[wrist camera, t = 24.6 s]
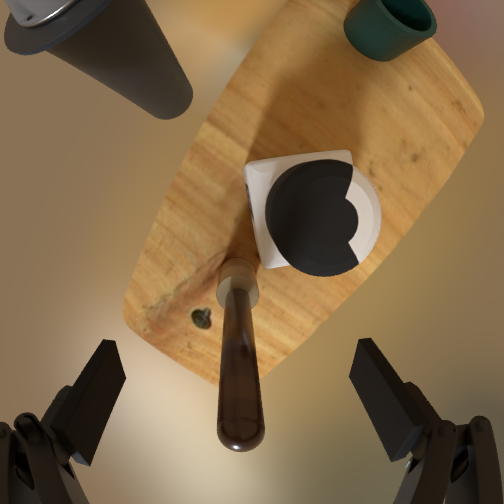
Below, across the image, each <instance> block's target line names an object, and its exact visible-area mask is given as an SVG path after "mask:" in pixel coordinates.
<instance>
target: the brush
mask: <svg viewBox="0 0 504 504" xmlns="http://www.w3.org/2000/svg"><path fill="white" fill-rule="evenodd" d="M216 297H217V301H218V303H219V304H220V306H221V307H222V308H223V309H224V323H223V337H222V351H221V366H220V382H219V398H218V399H219V400H218V417H217V434H218V437H219V440H220V441H221V443H222V444H223V445H224V446H225V447H227V448H228V449H230V450H233V451H236V452H246V451H250V450H252V449H254V448H256V447H257V446H258V445H259V444H260V443H261V442H262V440H263V438H264V435H265V425H264V417H263V408H262V401H261V391H260V383H259V374H258V365H257V357H256V348H255V339H254V330H253V321H252V312H251V309H252V308H253V307H254V306H255V305H256V303H257V301H258V298H259V290H258V285H257V279H256V274H255V270H254V267H253V266H252V264H251V263H250V262H249V261H247V260H245V259H243V258H232V259H229V260H228V261H226V262H225V263H224V264H223V265H222V267H221V269H220V273H219V279H218V285H217V292H216Z"/></svg>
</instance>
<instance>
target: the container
mask: <svg viewBox="0 0 504 504" xmlns="http://www.w3.org/2000/svg"><path fill="white" fill-rule="evenodd" d="M243 174H244V179H245V185H246V190H247V196H248V201H249V207H250V213H251V218H252V224H253V229H254V235H255V241H256V245H257V248H258V252H259V255H260V259H261V263H262V265H263V267H264V268H266V269H271V268H276V267H282V266H287V265H292V266H293V267H294V268H296V269H298V270H299V271H301V272H303V273H306V274H309V275H313V276H321V277H327V276H335V275H339V274H342V273H345V272H347V271H349V270H351V269H353V268H354V267H355V266H357V265H358V264H360V263H361V262H362V261H363V260H364V259H365V258H366V257H367V255H368V254H369V253H370V251H371V250H372V248H373V247H374V245H375V243H376V241H377V238H378V235H379V233H380V228H381V220H382V211H381V204H380V200H379V196H378V194H377V191H376V189H375V187H374V186H373V184H372V182H371V181H370V180H369V178H368V177H367V176H366V175H365V174H364V173H363V172H362V171H360V170H359V169H358V168H356V167H355V166H353V161H352V155H351V152H350V151H349V150H346V149H344V150H333V151H323V152H314V153H305V154H297V155H289V156H282V157H275V158H269V159H262V160H256V161H250V162H248V163H247V164H246V165H245V166H244V167H243Z"/></svg>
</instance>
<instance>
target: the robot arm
mask: <svg viewBox="0 0 504 504" xmlns="http://www.w3.org/2000/svg"><path fill="white" fill-rule="evenodd" d="M4 1H5V2H6V4H7V6H8V8H9V10H10V11H11V13H12V15H13V17H14V18H15V20H16V21H17V23H18V24H20V25H21V26H23V27H25V28H27V29H35V28H39V27H42V26H44V25H46V24H49V23H50V22H52V21H54V20H56V19H57V18H59V17H60V16H62V15H63V14H65V13H66V12H67V11H69V10H70V9H71V8H72V7H74V6H75V5H76V4H77V3H78V2H80V1H81V0H4ZM349 378H350V380H351V381H352V383H353V385H354V387H355V389H356V391H357V393H358V395H359V397H360V399H361V401H362V403H363V405H364V407H365V409H366V411H367V413H368V415H369V417H370V419H371V421H372V423H373V425H374V427H375V430H376V432H377V434H378V436H379V438H380V440H381V442H382V444H383V446H384V448H385V450H386V452H387V455H388V456H389V459H390V461H391V462H394V461H397V460H400V459H402V458H405V457H406V455H407V454H408V453H409V451H411V453H412V454H413V456H412V458H410V460H409V461H408V462H407V463H406V465H405V467H404V468H406V467H407V466H408V468H407V470H406V473H405V476H404V479H403V481H402V484H401V486H400V489H399V491H398V493H397V496H396V498H395V500H394V502H393V504H443V501H444V498H445V504H503V494H502V482H501V474H500V467H499V460H498V454H497V449H496V444H495V439H494V435H493V430H492V426H491V423H490V421H489V420H488V419H487V418H486V417H484V416H475V417H474V418H472V420H471V421H470V423H469V424H464V425H457V426H456V425H455V424H454V423H452V422H451V421H448V420H442V419H441V418H440V417H439V416H438V414H437V413H436V411H435V410H434V408H433V407H432V406H431V404H430V403H429V401H427V399H426V398H425V396H424V395H423V393H422V392H421V390H420V389H419V388H418V387H417V386H416V385H414V384H413V383H411V382H407V383H403V381H402V380H401V379H400V377H399V376H398V375H397V373H396V372H395V370H394V369H393V367H392V366H391V365H390V363H389V362H388V361H387V359H386V358H385V356H384V355H383V354H382V352H381V351H380V350H379V349H378V347H377V346H376V344H375V343H374V341H373V340H372V339H371V338H364V339H359V340H358V344H357V348H356V352H355V356H354V360H353V364H352V367H351V371H350V375H349ZM125 380H126V376H125V373H124V370H123V366H122V363H121V360H120V356H119V353H118V349H117V346H116V342H115V341H113V340H105V339H103V340H102V342H101V344H100V345H99V346H98V348H97V349H96V351H95V352H94V354H93V355H92V357H91V358H90V360H89V361H88V363H87V364H86V366H85V367H84V369H83V371H82V372H81V374H80V375H79V377H78V378H77V380H76V382H75V383H74V385H73V386H68V385H66V386H65V387H64V388H62V389H61V390H60V391H59V392H58V394H57V395H56V397H55V399H54V400H53V402H52V403H51V405H50V406H49V408H48V409H47V411H46V413H45V414H44V417H43V418H42V419H41V421H40V422H39V420H38V419H37V417H36V416H35V415H34V414H32V413H29V412H27V413H22V414H20V415H19V416H17V418H16V419H15V421H14V427H15V429H16V430H17V431H15V430H12V429H11V428H10V426H9V425H8V424H7V423H5V422H0V504H89V502H88V500H87V498H86V496H85V494H84V492H83V490H82V488H81V486H80V483H79V481H78V479H77V477H76V475H75V472H74V470H73V467H72V465H71V463H70V462H69V459H70V456H72V458H73V459H74V460H75V461H76V462H77V463H80V464H84V465H87V466H90V465H91V462H92V460H93V457H94V454H95V452H96V449H97V447H98V444H99V442H100V439H101V436H102V434H103V431H104V429H105V427H106V424H107V422H108V419H109V417H110V414H111V412H112V410H113V407H114V405H115V403H116V400H117V398H118V396H119V393H120V391H121V389H122V387H123V384H124V382H125Z"/></svg>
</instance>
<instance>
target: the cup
mask: <svg viewBox="0 0 504 504" xmlns="http://www.w3.org/2000/svg"><path fill="white" fill-rule="evenodd" d="M436 29H437V23H436V19H435V16H434V14H433V12H432V10H431V9H430V8H429V6H428V5H427V3H426V2H425V1H424V0H360V1H359V2H358V3H357V4H356V6H355V7H354V8H353V9H352V11H351V12H350V13H349V14H348V16H347V17H346V19H345V21H344V31H345V34H346V36H347V38H348V40H349V41H350V43H351V44H352V45H353V46H354V47H355V48H356V49H357V50H358V51H359V52H361V53H362V54H363V55H365V56H367V57H369V58H371V59H374V60H377V61H390V60H392V59H394V58H396V57H398V56H399V55H401V54H403V53H404V52H406V51H408V50H409V49H411V48H413V47H414V46H416V45H418V44H420V43H421V42H423V41H425V40H426V39H428V38H430V37H432V36H433V35H434V34H435V33H436Z"/></svg>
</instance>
